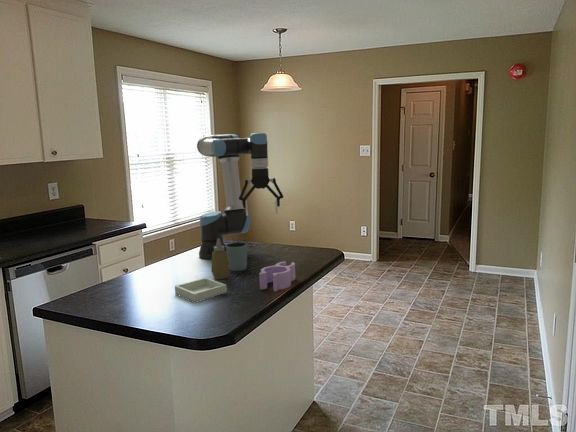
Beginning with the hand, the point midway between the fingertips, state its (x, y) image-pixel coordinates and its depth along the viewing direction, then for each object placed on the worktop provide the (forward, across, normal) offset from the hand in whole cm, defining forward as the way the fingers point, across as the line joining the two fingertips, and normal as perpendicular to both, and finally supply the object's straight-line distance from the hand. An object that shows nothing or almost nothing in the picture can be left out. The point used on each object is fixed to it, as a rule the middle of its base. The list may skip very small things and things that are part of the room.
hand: (261, 214), depth 212 cm
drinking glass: (+27, -13, +7) cm, 31 cm away
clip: (+27, +6, -19) cm, 34 cm away
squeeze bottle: (+27, -20, -7) cm, 34 cm away
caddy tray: (+27, -26, -27) cm, 46 cm away
